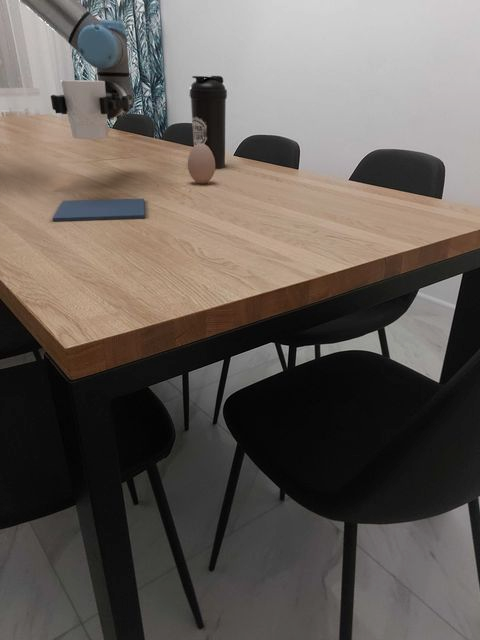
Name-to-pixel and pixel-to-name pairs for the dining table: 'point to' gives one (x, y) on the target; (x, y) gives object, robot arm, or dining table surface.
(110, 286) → the dining table surface
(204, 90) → the water bottle
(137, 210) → the glassware mat
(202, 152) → the egg
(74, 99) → the white cup
